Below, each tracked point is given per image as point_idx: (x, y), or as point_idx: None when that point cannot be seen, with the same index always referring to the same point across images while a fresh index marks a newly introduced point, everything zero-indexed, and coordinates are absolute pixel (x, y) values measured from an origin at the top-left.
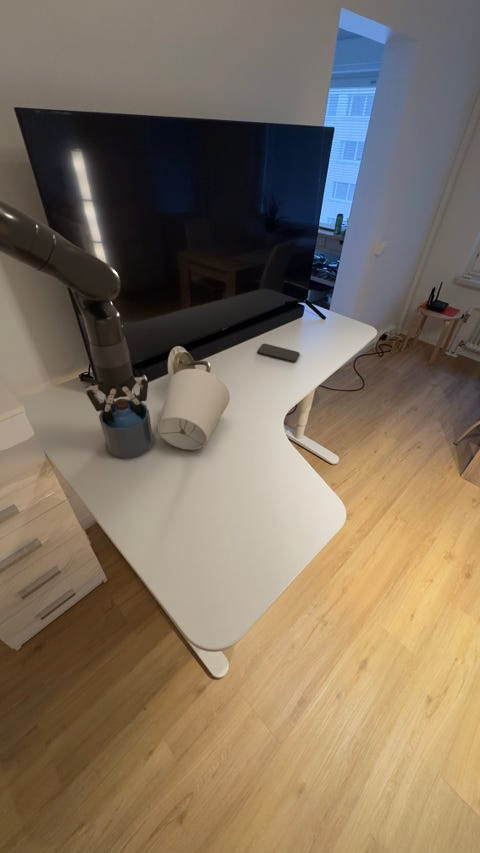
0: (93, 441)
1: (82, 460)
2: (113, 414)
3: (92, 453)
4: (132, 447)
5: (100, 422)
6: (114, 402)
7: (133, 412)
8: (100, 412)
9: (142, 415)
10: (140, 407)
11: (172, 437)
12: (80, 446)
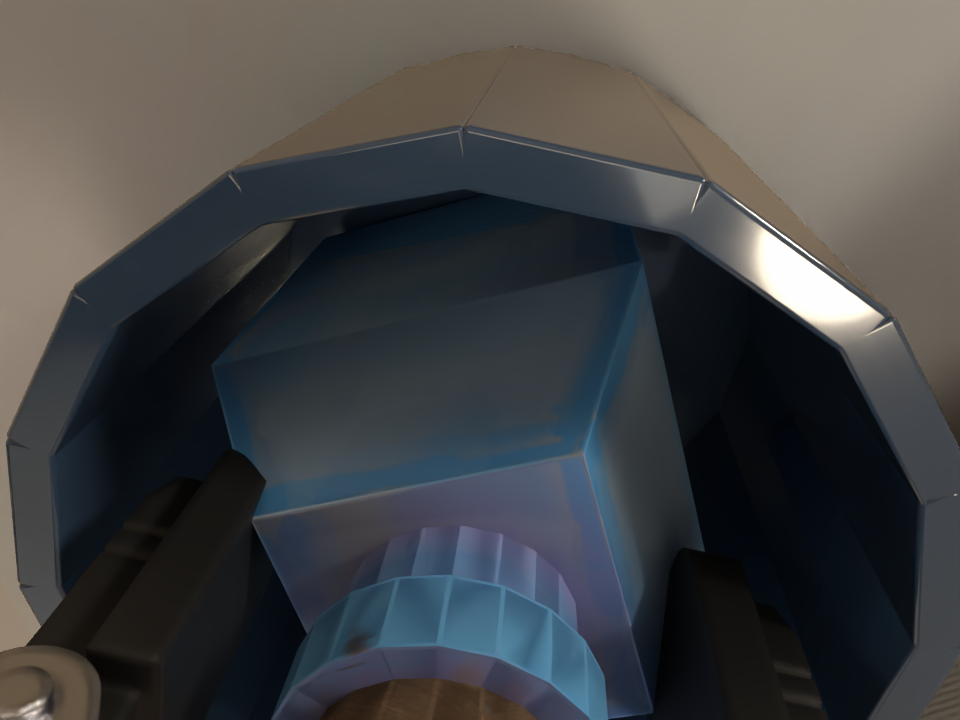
0: (151, 50)
1: (14, 271)
2: (273, 553)
3: (115, 234)
4: None
5: (21, 584)
6: (431, 169)
7: (627, 689)
8: (47, 345)
9: (813, 371)
10: (870, 437)
11: None
12: (3, 49)
